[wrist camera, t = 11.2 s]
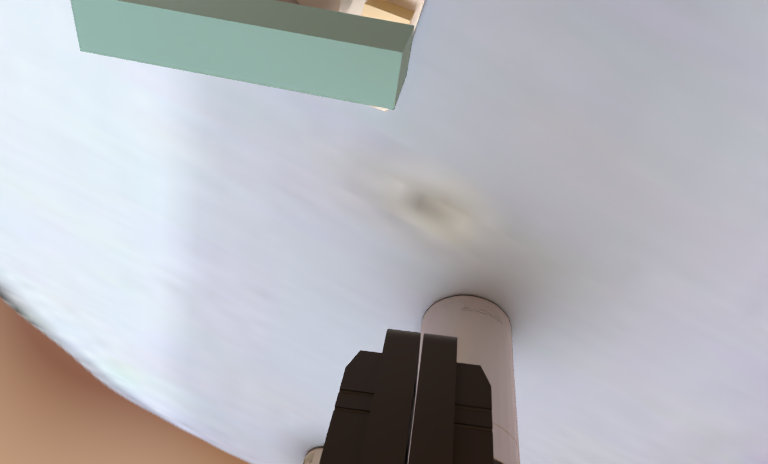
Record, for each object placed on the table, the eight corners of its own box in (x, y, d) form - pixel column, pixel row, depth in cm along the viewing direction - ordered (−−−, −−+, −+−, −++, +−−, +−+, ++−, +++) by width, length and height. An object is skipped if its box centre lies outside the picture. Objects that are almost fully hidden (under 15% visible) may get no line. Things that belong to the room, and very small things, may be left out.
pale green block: (418, 16, 28) (402, 52, 22) (410, 64, 30) (393, 110, 24) (150, -32, 29) (68, -9, 23) (155, 17, 30) (80, 50, 25)
